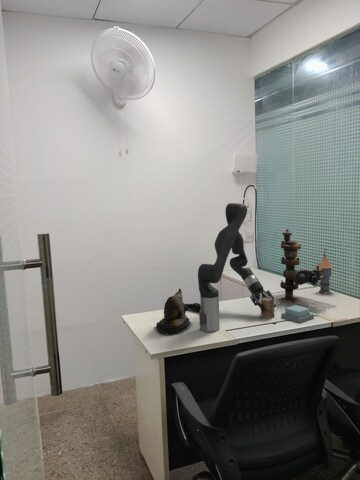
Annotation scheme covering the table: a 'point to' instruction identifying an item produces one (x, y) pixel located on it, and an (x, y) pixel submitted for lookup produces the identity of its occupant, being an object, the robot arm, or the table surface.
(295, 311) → the tower top slab
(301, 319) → the tower base slab
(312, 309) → the valve
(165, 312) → the sculpture
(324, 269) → the model tower
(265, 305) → the walnut pillar
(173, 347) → the table surface
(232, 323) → the table surface
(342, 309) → the table surface
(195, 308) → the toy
